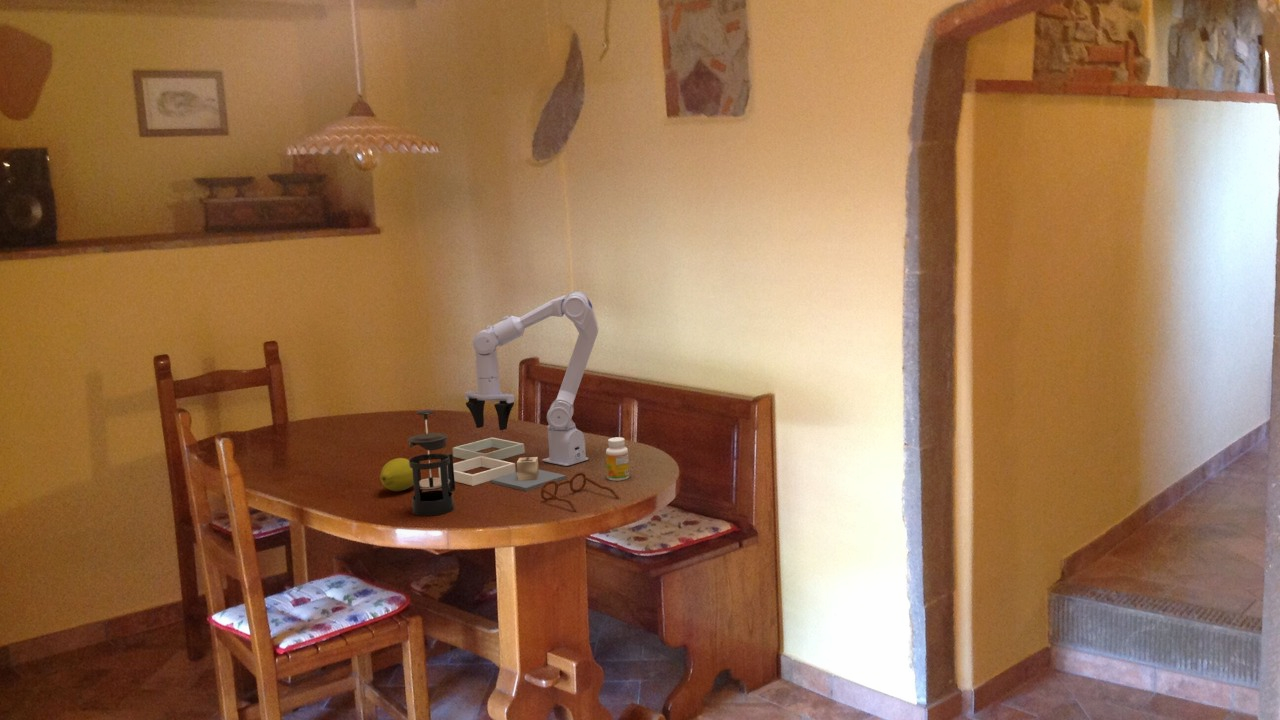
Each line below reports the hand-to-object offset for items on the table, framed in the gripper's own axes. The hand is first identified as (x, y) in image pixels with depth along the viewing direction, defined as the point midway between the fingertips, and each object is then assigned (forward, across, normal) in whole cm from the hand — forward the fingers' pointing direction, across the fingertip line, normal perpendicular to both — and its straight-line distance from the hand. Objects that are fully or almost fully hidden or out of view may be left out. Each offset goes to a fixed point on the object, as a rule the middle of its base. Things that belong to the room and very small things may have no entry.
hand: (491, 428), depth 289 cm
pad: (+9, -19, +10) cm, 23 cm away
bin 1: (+10, +7, -7) cm, 14 cm away
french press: (+10, -12, +37) cm, 41 cm away
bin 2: (+10, -3, +11) cm, 15 cm away
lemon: (+10, +6, +29) cm, 31 cm away
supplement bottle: (+10, -38, 0) cm, 39 cm away
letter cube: (+9, -19, +10) cm, 23 cm away
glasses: (+10, -40, +19) cm, 45 cm away
